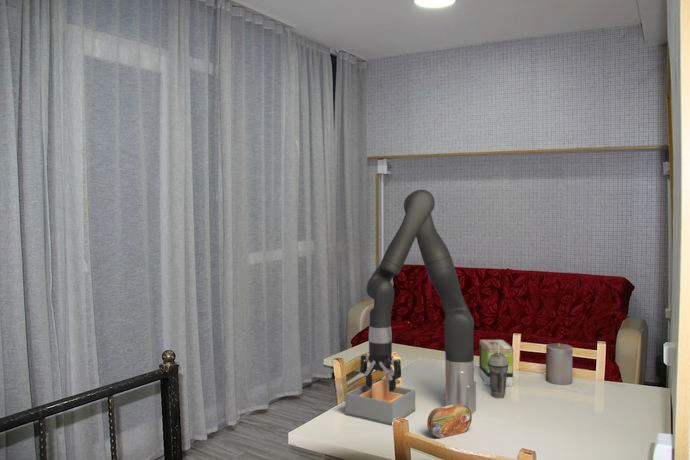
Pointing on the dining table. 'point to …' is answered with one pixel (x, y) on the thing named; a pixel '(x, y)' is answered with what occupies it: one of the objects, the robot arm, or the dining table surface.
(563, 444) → the dining table surface
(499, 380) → the beverage cup
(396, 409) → the large crate
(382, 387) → the small basket
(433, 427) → the tin
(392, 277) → the robot arm
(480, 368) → the tea box
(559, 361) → the pillar candle
